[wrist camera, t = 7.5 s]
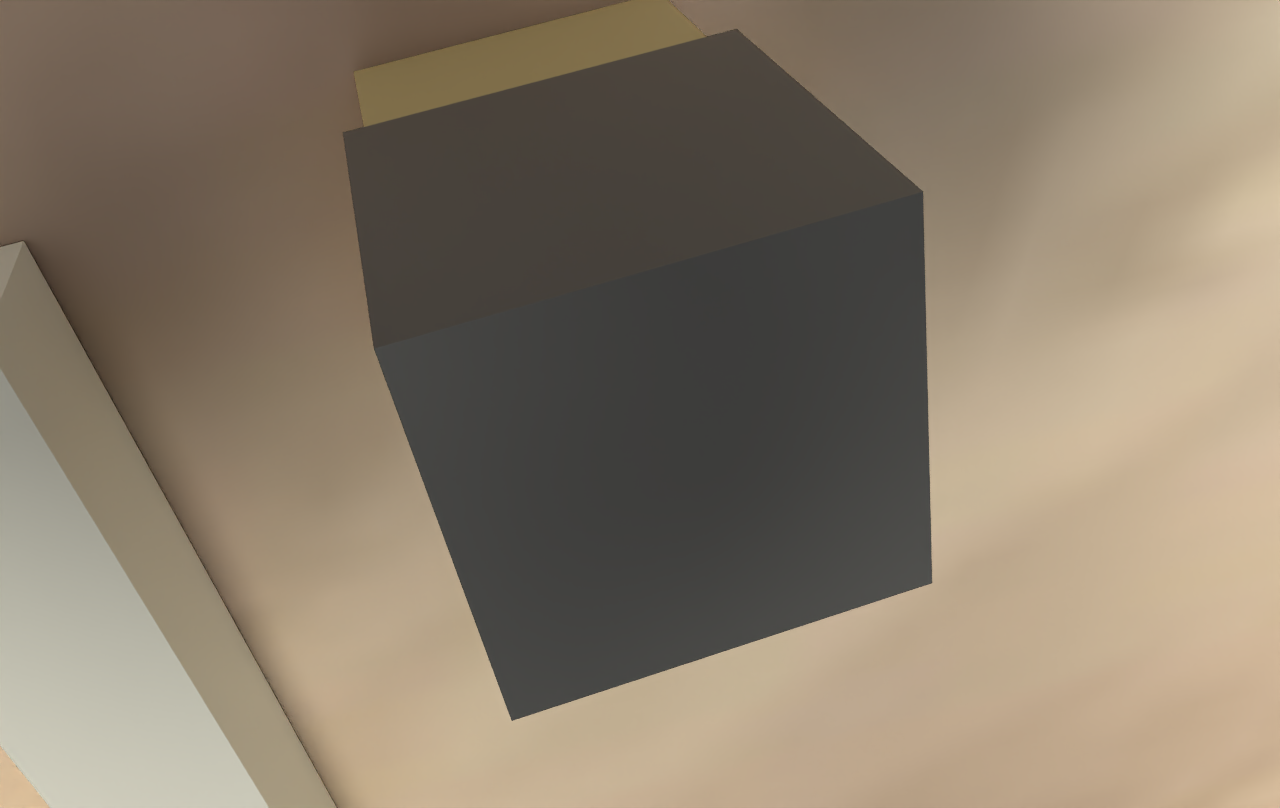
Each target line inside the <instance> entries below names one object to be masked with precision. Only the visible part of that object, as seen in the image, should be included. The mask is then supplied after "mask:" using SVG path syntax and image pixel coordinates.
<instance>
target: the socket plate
mask: <svg viewBox="0 0 1280 808" xmlns="http://www.w3.org/2000/svg"><path fill="white" fill-rule="evenodd" d="M0 746H1V747H2V748H3V750H4V751H5V752H6V753H7V755H8V756H9V757H10V758H11V760H12V761H13V762H14V763H15V765H16V766H17V767H18V768H19V770H20V771H21V772H22V773H23V775H24V776H25V777H26V778H27V780H28V781H29V782H30V783H31V784H32V786H33V787H34V788H35V789H36V791H37V792H38V793H39V794H40V796H41V797H42V798H43V799H44V801H45V802H46V803H47V804H48V806H49V807H50V808H337V807H336V806H335V804H334V802H333V800H332V798H331V797H330V795H329V793H328V791H327V789H326V787H325V786H324V784H323V782H322V780H321V778H320V777H319V775H318V773H317V771H316V769H315V768H314V766H313V764H312V762H311V760H310V758H309V757H308V755H307V753H306V751H305V749H304V748H303V746H302V744H301V742H300V740H299V739H298V737H297V735H296V733H295V731H294V729H293V728H292V726H291V724H290V722H289V720H288V719H287V717H286V715H285V713H284V711H283V710H282V708H281V706H280V704H279V702H278V700H277V699H276V697H275V695H274V693H273V691H272V690H271V688H270V686H269V684H268V682H267V681H266V679H265V677H264V675H263V673H262V671H261V670H260V668H259V666H258V664H257V662H256V661H255V659H254V657H253V655H252V653H251V652H250V650H249V648H248V646H247V644H246V643H245V641H244V639H243V637H242V635H241V633H240V632H239V630H238V628H237V626H236V624H235V623H234V621H233V619H232V617H231V615H230V614H229V612H228V610H227V608H226V606H225V604H224V603H223V601H222V599H221V597H220V595H219V594H218V592H217V590H216V588H215V586H214V585H213V583H212V581H211V579H210V577H209V575H208V574H207V572H206V570H205V568H204V566H203V565H202V563H201V561H200V559H199V557H198V556H197V554H196V552H195V550H194V548H193V546H192V545H191V543H190V541H189V539H188V537H187V536H186V534H185V532H184V530H183V528H182V527H181V525H180V523H179V521H178V519H177V517H176V516H175V514H174V512H173V510H172V508H171V507H170V505H169V503H168V501H167V499H166V498H165V496H164V494H163V492H162V490H161V488H160V487H159V485H158V483H157V481H156V479H155V478H154V476H153V474H152V472H151V470H150V469H149V467H148V465H147V463H146V461H145V460H144V458H143V456H142V454H141V452H140V450H139V449H138V447H137V445H136V443H135V441H134V440H133V438H132V436H131V434H130V432H129V431H128V429H127V427H126V425H125V423H124V421H123V420H122V418H121V416H120V414H119V412H118V411H117V409H116V407H115V405H114V403H113V402H112V400H111V398H110V396H109V394H108V392H107V391H106V389H105V387H104V385H103V383H102V382H101V380H100V378H99V376H98V374H97V373H96V371H95V369H94V367H93V365H92V363H91V362H90V360H89V358H88V356H87V354H86V353H85V351H84V349H83V347H82V345H81V344H80V342H79V340H78V338H77V336H76V334H75V333H74V331H73V329H72V327H71V325H70V324H69V322H68V320H67V318H66V316H65V315H64V313H63V311H62V309H61V307H60V306H59V304H58V302H57V300H56V298H55V296H54V295H53V293H52V291H51V289H50V287H49V286H48V284H47V282H46V280H45V278H44V277H43V275H42V273H41V271H40V269H39V267H38V266H37V264H36V262H35V260H34V258H33V257H32V255H31V253H30V251H29V249H28V248H27V246H26V244H25V242H24V241H21V242H18V243H14V244H10V245H6V246H3V247H0Z"/></svg>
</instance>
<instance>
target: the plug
mask: <svg viewBox="0 0 1280 808" xmlns="http://www.w3.org/2000/svg"><path fill="white" fill-rule="evenodd" d="M354 77H355V83H356V88H357V93H358V99H359V104H360V109H361V115H362V120H363V125H364V127H362V128H358V129H355V130H351V131H347V132H343V137H344V144H345V151H346V158H347V165H348V172H349V179H350V186H351V193H352V200H353V207H354V214H355V220H356V227H357V234H358V241H359V248H360V255H361V262H362V269H363V276H364V283H365V290H366V297H367V304H368V311H369V317H370V324H371V331H372V338H373V345H374V350H375V353H376V355H377V358H378V361H379V363H380V366H381V369H382V372H383V374H384V377H385V380H386V382H387V385H388V388H389V390H390V393H391V396H392V399H393V401H394V404H395V407H396V409H397V412H398V415H399V417H400V420H401V423H402V426H403V428H404V431H405V434H406V436H407V439H408V442H409V444H410V447H411V450H412V453H413V455H414V458H415V461H416V463H417V466H418V469H419V471H420V474H421V477H422V480H423V482H424V485H425V488H426V490H427V493H428V496H429V498H430V501H431V504H432V507H433V509H434V512H435V515H436V517H437V520H438V523H439V525H440V528H441V531H442V534H443V536H444V539H445V542H446V544H447V547H448V550H449V552H450V555H451V558H452V561H453V563H454V566H455V569H456V571H457V574H458V577H459V579H460V582H461V585H462V588H463V590H464V593H465V596H466V598H467V601H468V604H469V606H470V609H471V612H472V615H473V617H474V620H475V623H476V625H477V628H478V631H479V633H480V636H481V639H482V642H483V644H484V647H485V650H486V652H487V655H488V658H489V660H490V663H491V666H492V669H493V671H494V674H495V677H496V679H497V682H498V685H499V687H500V690H501V693H502V696H503V698H504V701H505V704H506V706H507V709H508V712H509V714H510V717H511V720H512V721H513V720H516V719H519V718H522V717H525V716H528V715H531V714H534V713H537V712H540V711H543V710H546V709H549V708H552V707H555V706H558V705H561V704H565V703H568V702H571V701H574V700H577V699H580V698H583V697H586V696H589V695H592V694H595V693H598V692H601V691H604V690H607V689H610V688H613V687H616V686H619V685H623V684H626V683H629V682H632V681H635V680H638V679H641V678H644V677H647V676H650V675H653V674H656V673H659V672H662V671H665V670H668V669H671V668H674V667H677V666H680V665H684V664H687V663H690V662H693V661H696V660H699V659H702V658H705V657H708V656H711V655H714V654H717V653H720V652H723V651H726V650H729V649H732V648H735V647H738V646H742V645H745V644H748V643H751V642H754V641H757V640H760V639H763V638H766V637H769V636H772V635H775V634H778V633H781V632H784V631H787V630H790V629H793V628H796V627H800V626H803V625H806V624H809V623H812V622H815V621H818V620H821V619H824V618H827V617H830V616H833V615H836V614H839V613H842V612H845V611H848V610H851V609H854V608H857V607H861V606H864V605H867V604H870V603H873V602H876V601H879V600H882V599H885V598H888V597H891V596H894V595H897V594H900V593H903V592H906V591H909V590H912V589H915V588H919V587H922V586H925V585H928V584H931V583H932V561H931V518H930V475H929V432H928V389H927V346H926V302H925V259H924V216H923V191H922V190H920V189H919V188H918V187H917V186H916V185H915V184H914V183H912V182H911V181H910V180H909V179H908V178H907V177H906V176H904V175H903V174H902V173H901V172H900V171H899V170H898V169H896V168H895V167H894V166H893V165H892V164H891V163H890V162H888V161H887V160H886V159H885V158H884V157H883V156H882V155H880V154H879V153H878V152H877V151H876V150H875V149H873V148H872V147H871V146H870V145H869V144H868V143H867V142H865V141H864V140H863V139H862V138H861V137H860V136H859V135H857V134H856V133H855V132H854V131H853V130H852V129H851V128H849V127H848V126H847V125H846V124H845V123H844V122H843V121H841V120H840V119H839V118H838V117H837V116H836V115H835V114H833V113H832V112H831V111H830V110H829V109H828V108H827V107H825V106H824V105H823V104H822V103H821V102H820V101H819V100H817V99H816V98H815V97H814V96H813V95H812V94H811V93H809V92H808V91H807V90H806V89H805V88H804V87H803V86H801V85H800V84H799V83H798V82H797V81H796V80H795V79H793V78H792V77H791V76H790V75H789V74H788V73H787V72H785V71H784V70H783V69H782V68H781V67H780V66H779V65H777V64H776V63H775V62H774V61H773V60H772V59H770V58H769V57H768V56H767V55H766V54H765V53H764V52H762V51H761V50H760V49H759V48H758V47H757V46H756V45H754V44H753V43H752V42H751V41H750V40H749V39H748V38H746V37H745V36H744V35H743V34H742V33H741V32H740V31H738V30H737V29H734V30H730V31H727V32H723V33H719V34H715V35H711V36H708V37H706V36H705V35H704V34H703V33H702V32H701V31H700V30H699V29H698V28H697V27H696V26H695V25H694V24H693V23H692V22H690V21H689V20H688V19H687V18H686V17H685V16H684V15H683V14H682V13H681V12H680V11H679V10H678V9H677V8H676V7H675V6H674V5H673V4H672V3H671V2H669V1H668V0H630V1H626V2H622V3H618V4H615V5H611V6H607V7H603V8H599V9H595V10H591V11H587V12H583V13H580V14H576V15H572V16H568V17H564V18H560V19H556V20H552V21H548V22H545V23H541V24H537V25H533V26H529V27H525V28H521V29H517V30H513V31H510V32H506V33H502V34H498V35H494V36H490V37H486V38H482V39H478V40H475V41H471V42H467V43H463V44H459V45H455V46H451V47H447V48H444V49H440V50H436V51H432V52H428V53H424V54H420V55H416V56H412V57H409V58H405V59H401V60H397V61H393V62H389V63H385V64H381V65H377V66H374V67H370V68H366V69H362V70H358V71H354Z"/></svg>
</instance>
